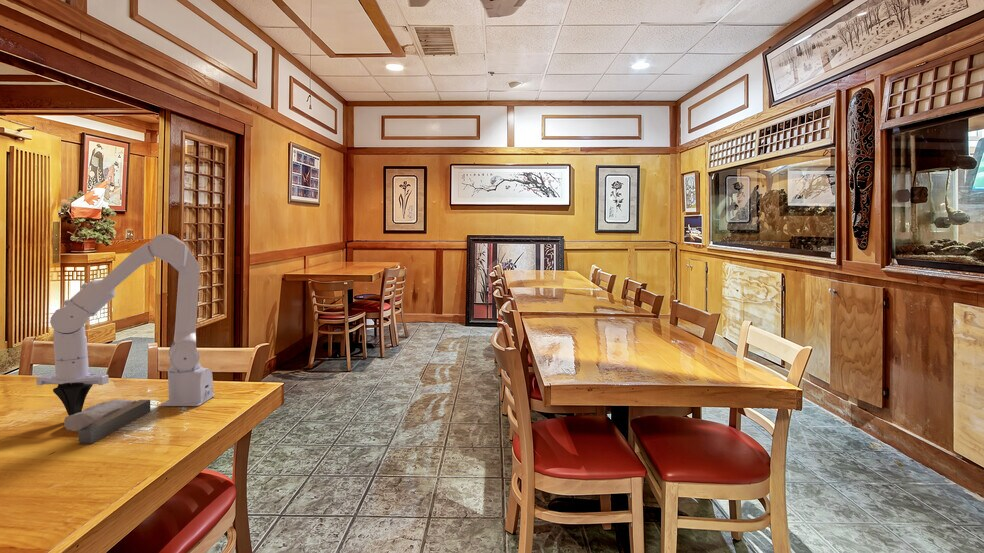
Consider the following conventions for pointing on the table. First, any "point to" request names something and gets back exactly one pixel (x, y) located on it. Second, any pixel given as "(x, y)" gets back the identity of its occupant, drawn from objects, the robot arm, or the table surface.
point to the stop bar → (113, 422)
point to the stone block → (94, 414)
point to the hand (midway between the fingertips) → (75, 414)
